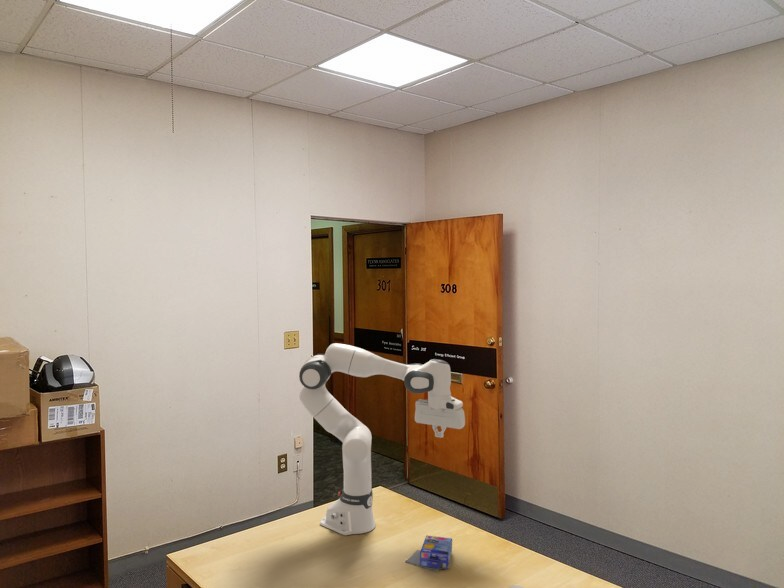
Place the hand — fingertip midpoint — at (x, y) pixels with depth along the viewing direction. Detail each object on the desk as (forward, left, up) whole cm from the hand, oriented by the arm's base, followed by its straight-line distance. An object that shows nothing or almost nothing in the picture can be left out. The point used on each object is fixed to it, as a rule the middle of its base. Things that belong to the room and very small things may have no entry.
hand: (439, 436), depth 213 cm
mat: (+6, -22, -37) cm, 44 cm away
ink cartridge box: (+7, -14, -34) cm, 37 cm away
